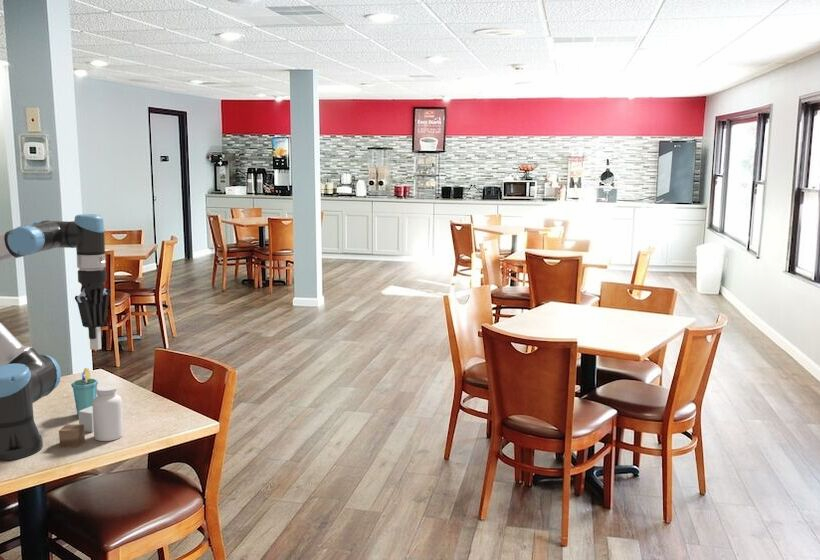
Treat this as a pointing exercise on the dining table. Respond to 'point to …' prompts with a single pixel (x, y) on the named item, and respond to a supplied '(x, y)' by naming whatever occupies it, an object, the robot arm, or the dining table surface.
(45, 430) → the dining table surface
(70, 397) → the dining table surface
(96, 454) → the dining table surface
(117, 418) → the pill bottle
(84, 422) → the white block
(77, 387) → the cup
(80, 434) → the walnut cube
